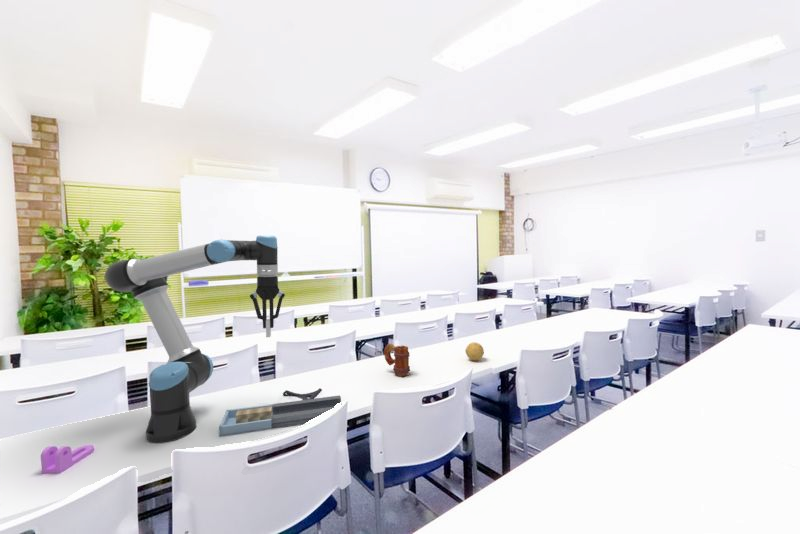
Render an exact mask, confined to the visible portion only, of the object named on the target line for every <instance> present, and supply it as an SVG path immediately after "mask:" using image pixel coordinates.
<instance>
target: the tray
mask: <svg viewBox="0 0 800 534" xmlns="http://www.w3.org/2000/svg"><path fill="white" fill-rule="evenodd" d="M273 404H274V403H270V404H264V405H255V406H249V407H247V406H246V407H238V408H233V409H232V408H231V409H226V410H225V413H224V415H223V418H222V419H221V422H220V424H219V427H218V432H219V433H218V434H219V437H225V436H233V435H241V434H245V433H253V432H259V431H266V430H273V429H272V422H271V419H266V420H259V421H252V422H245V423H238V424H236V413H237V411H240V410H248V409H255V408H263V407H271V406H272V415H273Z"/></svg>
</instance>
